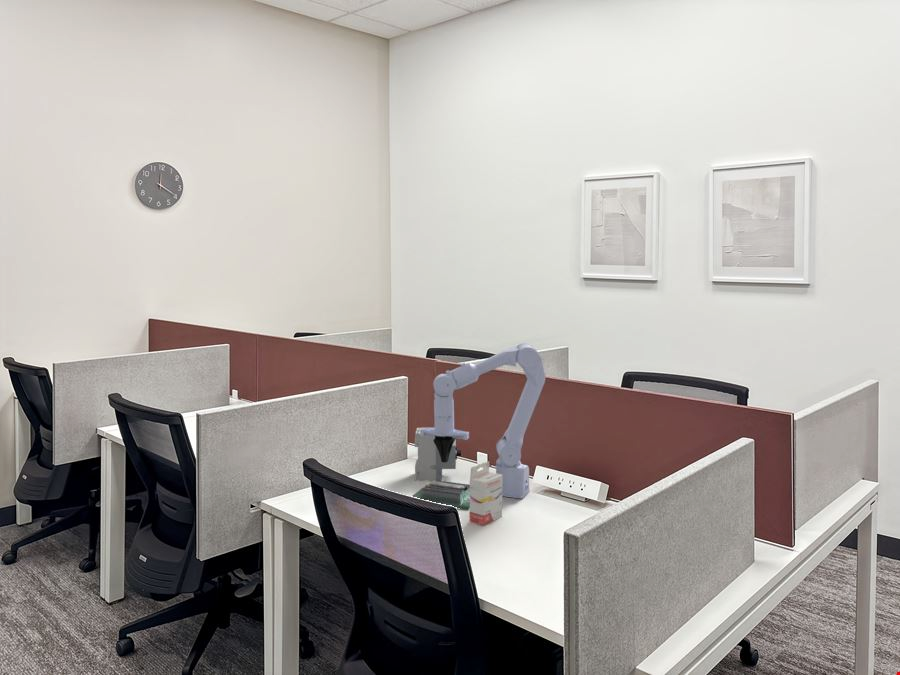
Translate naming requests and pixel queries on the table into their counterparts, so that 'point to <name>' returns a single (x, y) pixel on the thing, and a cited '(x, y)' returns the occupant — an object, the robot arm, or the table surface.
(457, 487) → the grey flat bar
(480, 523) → the ink cartridge box
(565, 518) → the table surface
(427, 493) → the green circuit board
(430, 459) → the circuit breaker
